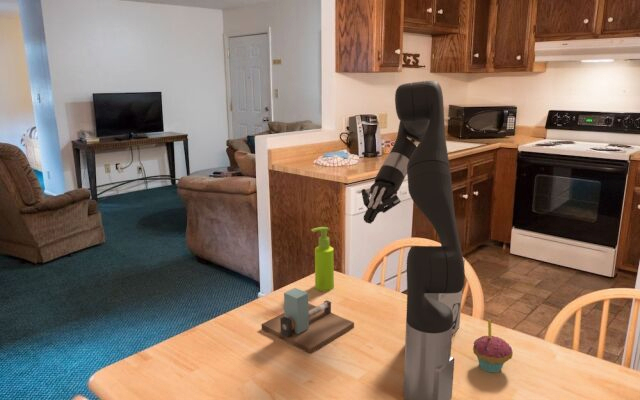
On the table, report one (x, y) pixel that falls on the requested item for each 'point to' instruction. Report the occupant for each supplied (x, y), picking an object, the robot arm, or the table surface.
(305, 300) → the tall pale blue block
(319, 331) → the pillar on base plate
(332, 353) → the table surface
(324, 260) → the soap dispenser
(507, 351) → the cupcake
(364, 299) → the table surface
